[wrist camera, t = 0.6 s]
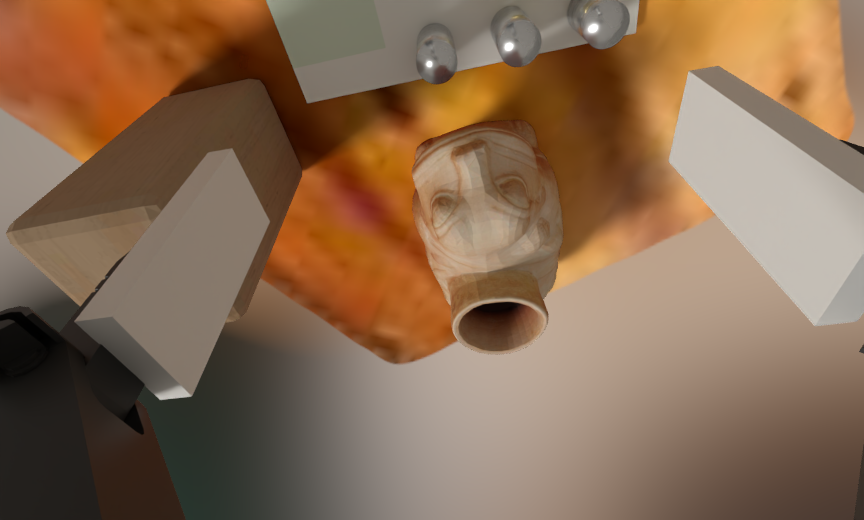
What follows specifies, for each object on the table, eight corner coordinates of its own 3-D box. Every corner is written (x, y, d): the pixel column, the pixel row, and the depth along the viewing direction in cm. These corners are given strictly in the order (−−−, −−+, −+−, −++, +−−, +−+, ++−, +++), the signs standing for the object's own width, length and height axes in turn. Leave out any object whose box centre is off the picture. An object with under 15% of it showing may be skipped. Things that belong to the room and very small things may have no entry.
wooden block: (216, 190, 45) (112, 345, 30) (158, 95, 38) (-14, 233, 23) (307, 172, 43) (247, 325, 28) (263, 72, 37) (155, 201, 22)
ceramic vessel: (538, 57, 37) (590, 134, 25) (553, 273, 54) (588, 377, 42) (383, 96, 39) (368, 183, 27) (445, 293, 55) (451, 397, 44)
